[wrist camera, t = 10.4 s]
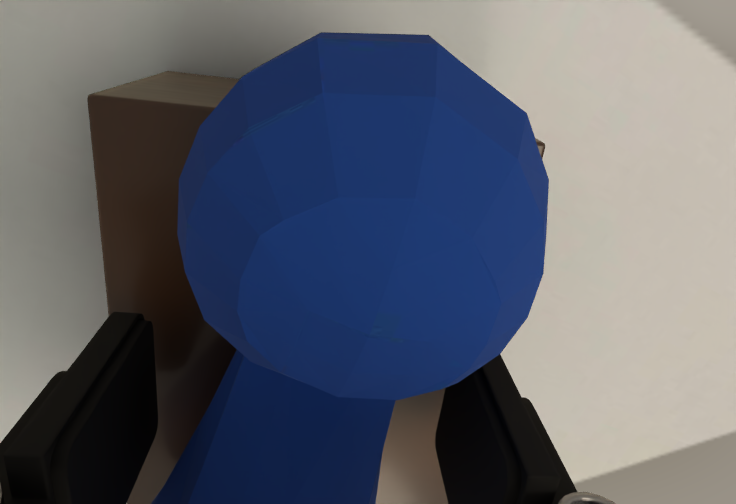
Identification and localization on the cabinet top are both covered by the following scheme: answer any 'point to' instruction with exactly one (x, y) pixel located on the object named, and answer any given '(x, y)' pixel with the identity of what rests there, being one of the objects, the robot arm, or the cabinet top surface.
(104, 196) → the walnut block
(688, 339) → the cabinet top surface
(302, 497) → the toy
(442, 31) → the cabinet top surface
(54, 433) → the robot arm
